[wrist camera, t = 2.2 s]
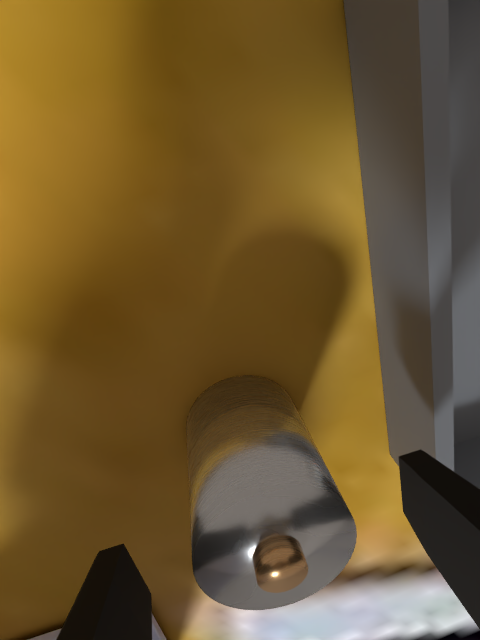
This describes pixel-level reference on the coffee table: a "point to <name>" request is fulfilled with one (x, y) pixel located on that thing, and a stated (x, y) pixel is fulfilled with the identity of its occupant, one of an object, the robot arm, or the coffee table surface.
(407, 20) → the grey tray
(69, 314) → the coffee table surface
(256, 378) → the cell
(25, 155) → the coffee table surface
